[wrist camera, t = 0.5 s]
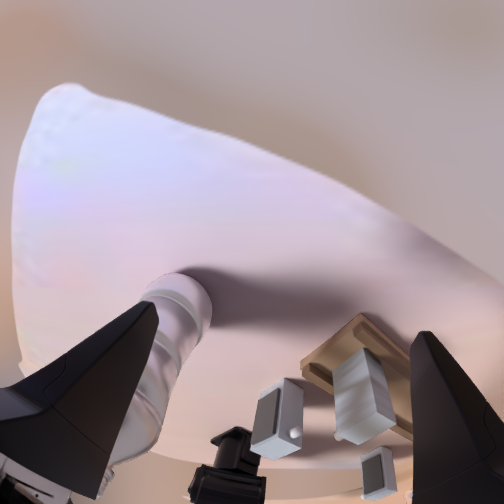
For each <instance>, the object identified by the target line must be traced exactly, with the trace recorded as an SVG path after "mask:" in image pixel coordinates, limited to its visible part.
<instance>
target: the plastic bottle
mask: <svg viewBox="0 0 504 504" xmlns="http://www.w3.org/2000/svg"><path fill="white" fill-rule="evenodd" d="M143 300H146V301H151V302H153V303H154V304H155V306H156V310H157V313H158V316H159V325H158V329H157V332H156V335H155V338H154V342H153V345H152V348H151V352H150V355H149V358H148V361H147V364H146V366H145V369H144V371H143V374H142V376H141V378H140V381H139V383H138V386H137V388H136V391H135V393H134V396H133V398H132V401H131V403H130V406H129V408H128V411H127V413H126V416H125V418H124V421H123V424H122V426H121V429H120V431H119V434H118V437H117V439H116V442H115V445H114V448H113V450H112V453H111V455H110V459H109V462H108V465H107V468H106V470H105V473H104V476H103V479H102V482H101V485H100V488H99V491H98V494H97V497H96V498H100V497H101V496H102V495H103V493H104V491H105V489H106V487H107V485H108V483H109V482H111V481H112V480H113V478H114V476H115V475H114V472H113V471H112V468H113V467H114V466H116V465H119V464H122V463H125V462H128V461H131V460H133V459H135V458H137V457H139V456H141V455H143V454H145V453H147V452H148V451H149V450H150V449H151V448H152V447H153V446H154V445H155V444H156V442H157V441H158V438H159V435H160V432H161V429H162V425H163V421H164V417H165V413H166V410H167V406H168V402H169V398H170V395H171V392H172V390H173V387H174V385H175V382H176V379H177V377H178V375H179V372H180V370H181V368H182V366H183V365H184V363H185V361H186V360H187V358H188V357H189V355H190V353H191V352H192V350H193V349H194V347H195V346H196V345H197V344H198V343H199V342H200V341H201V340H202V338H203V337H204V335H205V334H206V333H207V331H208V329H209V327H210V323H211V317H212V303H211V300H210V298H209V295H208V294H207V292H206V290H205V289H204V288H203V287H202V286H201V284H200V283H198V282H197V281H196V280H195V279H193V278H191V277H189V276H186V275H183V274H179V273H169V274H165V275H163V276H161V277H159V278H158V279H156V280H154V281H153V282H152V283H150V284H149V285H148V287H147V288H146V290H145V292H144V293H143V295H142V297H141V298H140V300H139V302H141V301H143Z"/></svg>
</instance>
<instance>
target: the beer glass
mask: <svg viewBox="0 0 504 504" xmlns="http://www.w3.org/2000/svg"><path fill="white" fill-rule="evenodd" d="M412 493H413V489H411V490H409V491H407V492H406V493H405V494H404V499H405V501H406V504H412V495H413V494H412Z"/></svg>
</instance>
